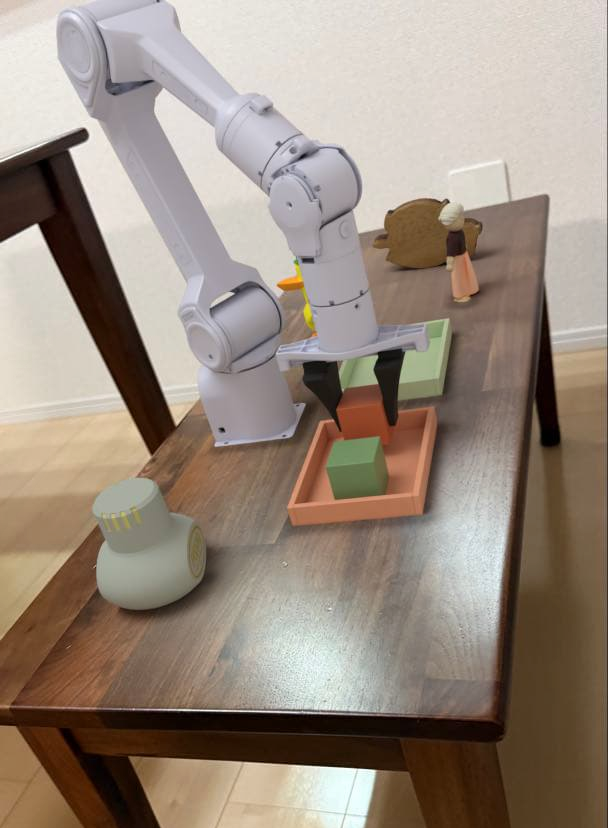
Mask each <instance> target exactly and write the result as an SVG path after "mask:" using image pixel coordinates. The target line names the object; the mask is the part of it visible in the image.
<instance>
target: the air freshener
mask: <svg viewBox="0 0 608 828" xmlns="http://www.w3.org/2000/svg"><path fill="white" fill-rule="evenodd" d="M91 511H92V514H93V516H94V518H95V520H96V522H97V524H98V527H99V529H100V531H101V533H102V535H103V537H104V539H105V540H104V541H103V543H102V544H101V545H100V548H99V552H98V554H97V558H96V566H95V567H96V570H95V571H96V573H95V574H96V575H95V576H96V585H97V588H98V591H99V593H100V596H101V597H102V598H103V599H104V600H106V601H107V602H108V603H110V604H111V605H114V606H116V607H119V608H121V609H127V610H133V611H134V610H135V611H144V610H152V609H158V608H161V607H165V606H167V605H170V604H172V603H174V602H176V601H178V600H180V599H182V598H183V597H184V596H186V595H188V594H189V593H190V592H191V591H193V590H194V589H195V588H196V587H197V586H198V585H199V584H200V583H201V582H202V580H203V577H204V575H205V571H206V565H207V564H206V563H207V544H206V537H205V533H204V530H203V527H202V525H201V523H200V522H199V521H198V520H196V519H195V518H192V517H191V516H188V515H186V514H181V513H178V512H170V511H169V508H168V506H167V503H166V501H165V499H164V496H163V493H162V492H161V490H160V487H159V485H158V483H157V482H156V481H154V480H152V479H151V478H146V477H132V478H128V479H123V480H121V481H119V482H116V483H114V484H112V485H109V487H107V488H106V489H104V490H103V491H102V492H100V493H99V494H98V496H97V497H96V498H95V500H94V502H93V504H92V507H91Z"/></svg>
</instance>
